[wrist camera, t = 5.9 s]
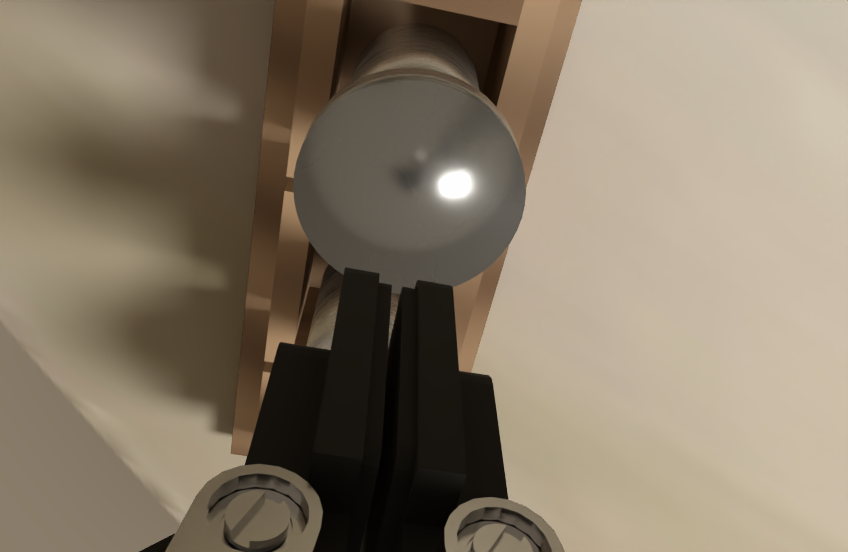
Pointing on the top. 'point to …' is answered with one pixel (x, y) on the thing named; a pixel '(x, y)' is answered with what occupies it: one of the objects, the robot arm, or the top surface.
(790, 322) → the top surface
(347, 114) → the plug
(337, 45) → the socket board
